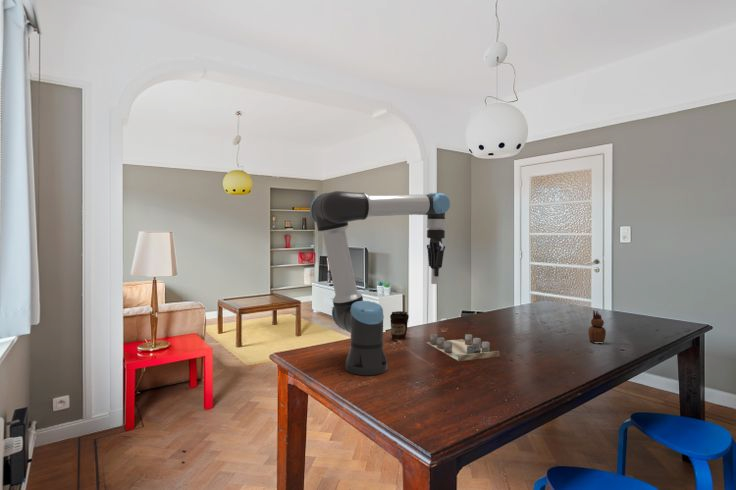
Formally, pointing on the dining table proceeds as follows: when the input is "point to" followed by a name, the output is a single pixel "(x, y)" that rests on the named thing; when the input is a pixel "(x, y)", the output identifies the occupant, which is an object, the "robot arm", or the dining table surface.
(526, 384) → the dining table surface
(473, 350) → the nut
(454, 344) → the board
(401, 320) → the coffee cup
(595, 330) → the wooden figurine
